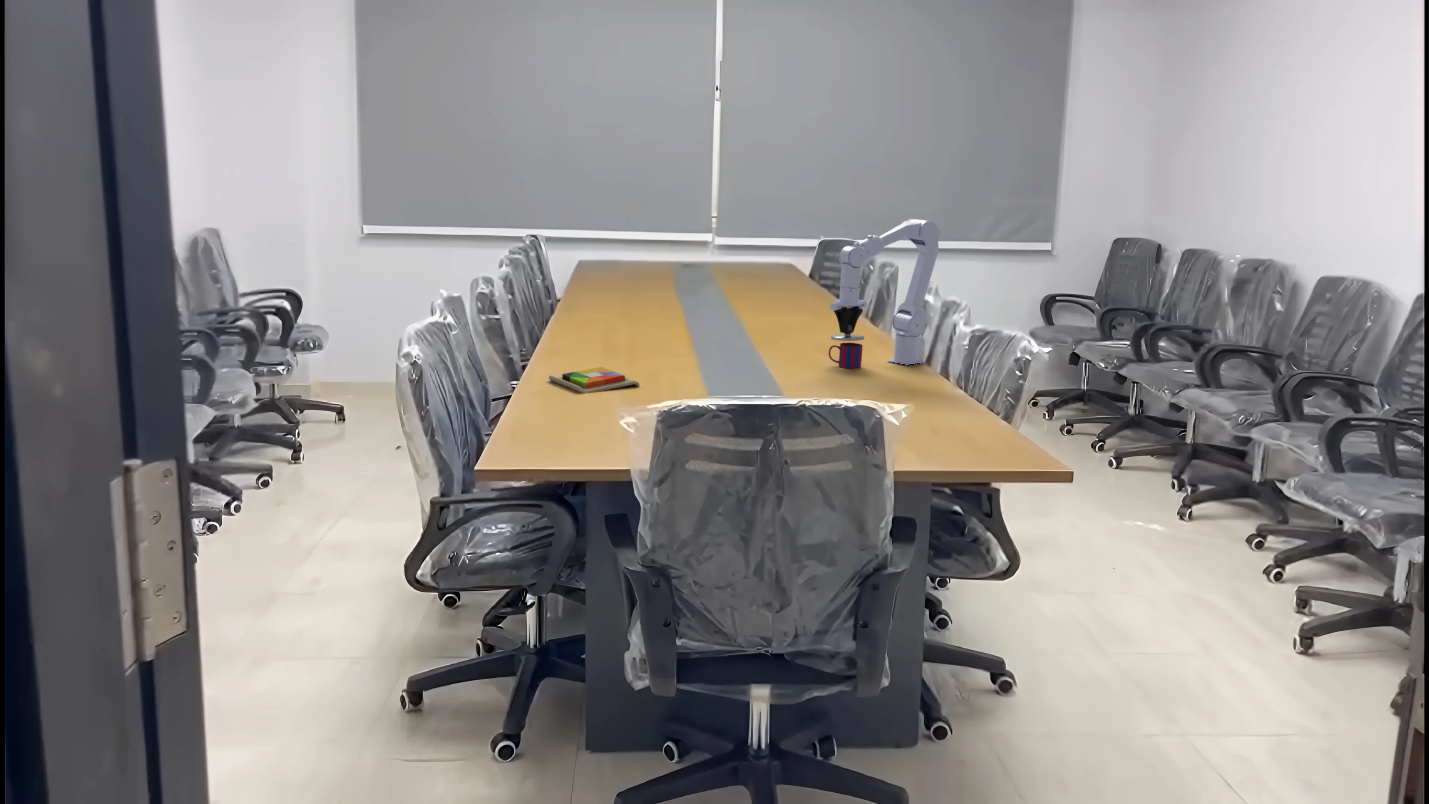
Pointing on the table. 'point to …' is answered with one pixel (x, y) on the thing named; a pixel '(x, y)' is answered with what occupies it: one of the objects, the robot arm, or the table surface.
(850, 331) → the lid
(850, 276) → the robot arm
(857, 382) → the table surface
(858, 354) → the mug
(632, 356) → the table surface
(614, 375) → the wooden puzzle
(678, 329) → the table surface
